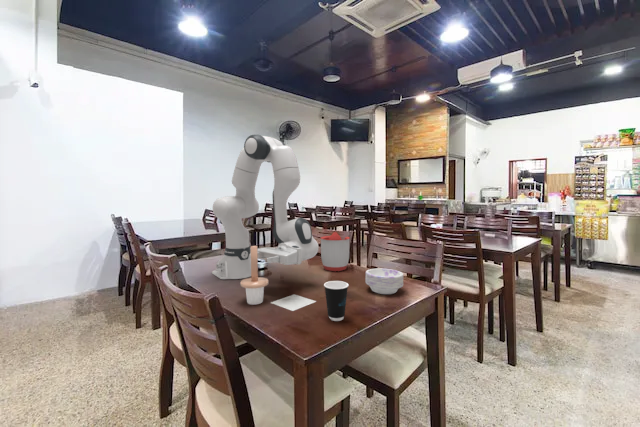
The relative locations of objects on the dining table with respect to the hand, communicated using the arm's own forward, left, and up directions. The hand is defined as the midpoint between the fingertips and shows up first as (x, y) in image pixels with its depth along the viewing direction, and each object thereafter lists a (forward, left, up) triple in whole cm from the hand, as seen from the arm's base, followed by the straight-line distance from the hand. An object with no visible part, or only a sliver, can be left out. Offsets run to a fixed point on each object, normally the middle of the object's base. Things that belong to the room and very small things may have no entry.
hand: (258, 258), depth 110 cm
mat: (+11, +7, -16) cm, 21 cm away
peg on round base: (0, -2, -9) cm, 9 cm away
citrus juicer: (-9, +57, -16) cm, 60 cm away
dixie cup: (+31, +7, -16) cm, 36 cm away
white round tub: (0, -2, -16) cm, 16 cm away
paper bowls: (+29, +41, -16) cm, 53 cm away
